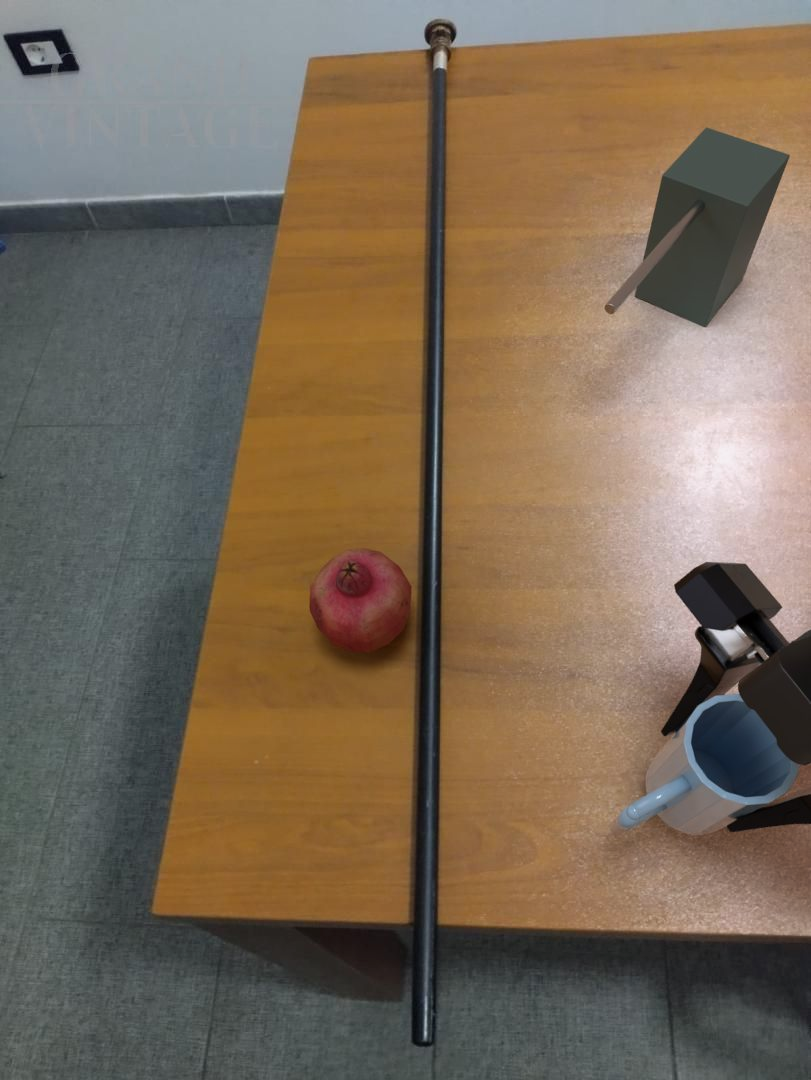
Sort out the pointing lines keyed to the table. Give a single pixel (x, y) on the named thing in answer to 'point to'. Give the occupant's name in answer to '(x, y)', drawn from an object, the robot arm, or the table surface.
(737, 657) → the robot arm
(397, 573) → the fruit
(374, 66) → the table surface
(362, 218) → the table surface
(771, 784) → the blue mug
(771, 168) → the box
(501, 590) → the table surface
